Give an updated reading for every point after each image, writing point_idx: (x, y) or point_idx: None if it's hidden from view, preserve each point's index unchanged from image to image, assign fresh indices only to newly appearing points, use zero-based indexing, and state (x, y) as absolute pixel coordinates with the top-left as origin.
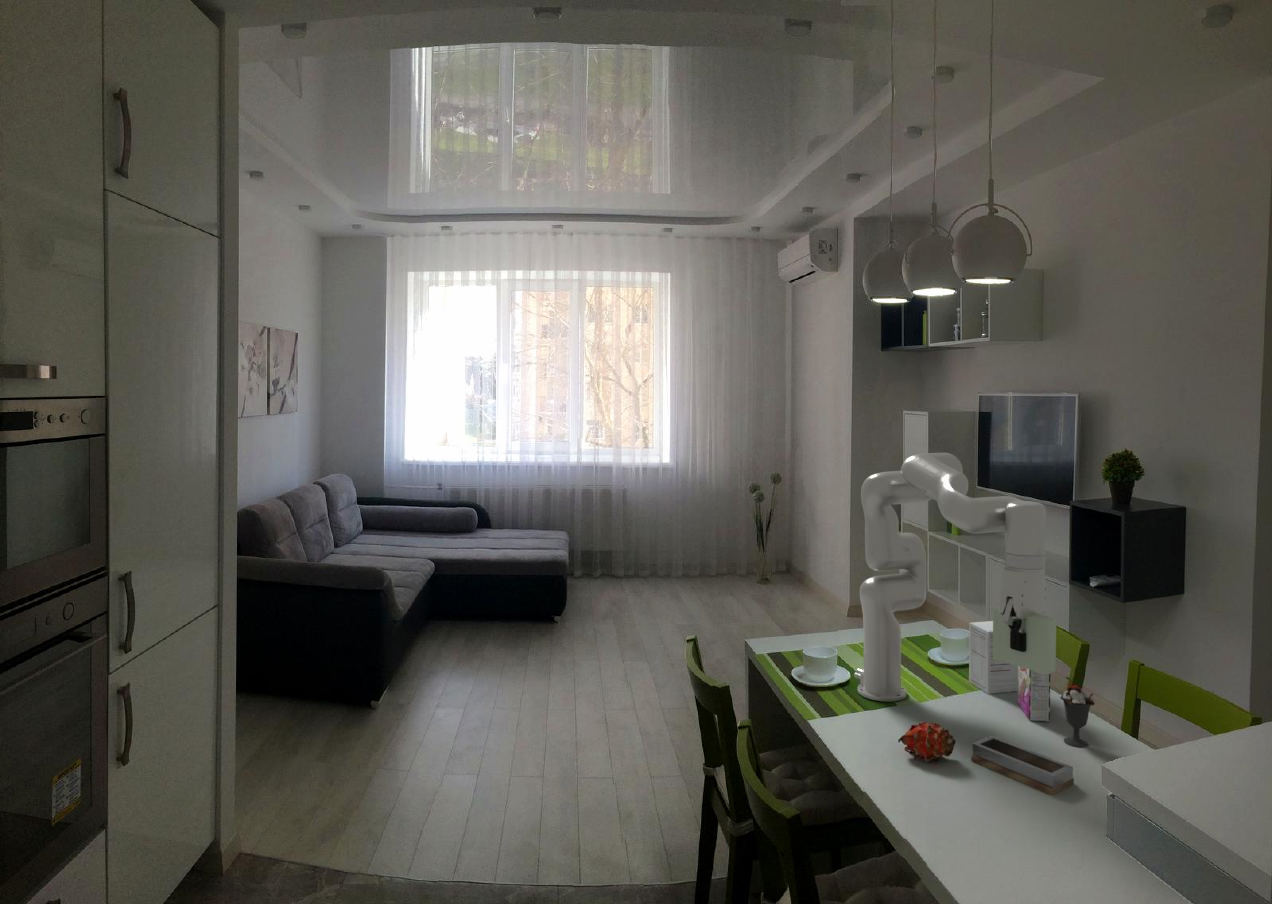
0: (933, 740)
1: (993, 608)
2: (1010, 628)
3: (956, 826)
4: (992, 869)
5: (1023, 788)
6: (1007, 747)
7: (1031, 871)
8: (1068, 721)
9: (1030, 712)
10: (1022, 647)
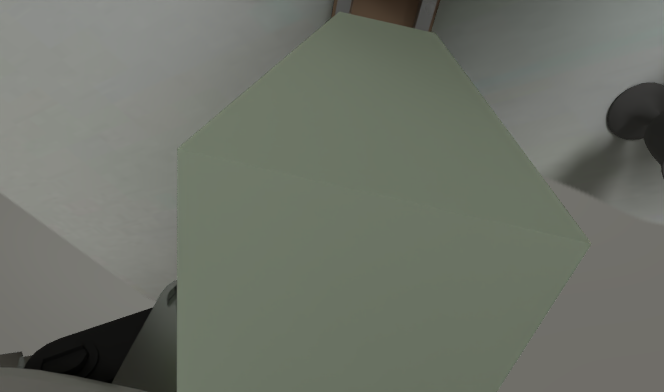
0: None
1: (183, 152)
2: (139, 315)
3: (54, 53)
4: (12, 149)
5: None
6: (417, 15)
7: (60, 190)
8: (659, 116)
9: None
10: None
